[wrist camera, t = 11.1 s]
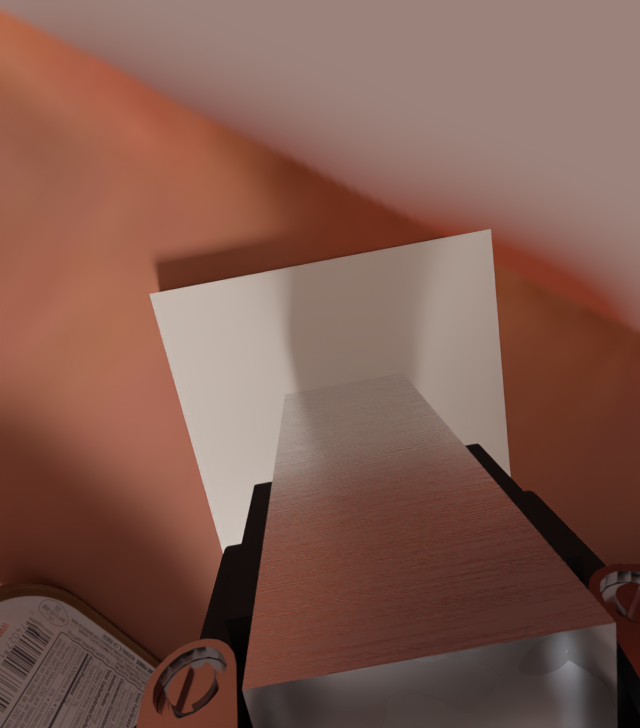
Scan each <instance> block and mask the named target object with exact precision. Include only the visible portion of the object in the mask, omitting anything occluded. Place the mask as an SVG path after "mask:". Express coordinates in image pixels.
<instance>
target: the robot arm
mask: <svg viewBox="0 0 640 728" xmlns="http://www.w3.org/2000/svg"><path fill="white" fill-rule="evenodd" d="M465 447H466V448H467V449H468V450H469V451H470V452H471V454H472V455H473V456H474V457H475V458H476V459H477V461H478V462H479V463H480V464H481V465H482V466H483V468H484V469H485V470H486V471H487V472H488V473H489V475H490V476H491V477H492V478H493V479H494V480H495V482H496V483H497V484H498V485H499V486H500V487H501V489H502V490H503V491H504V492H505V493H506V494H507V496H508V497H509V498H510V499H511V500H512V501H513V503H514V504H515V505H516V506H517V507H518V509H519V510H520V511H521V512H522V513H523V514H524V516H525V517H526V518H527V519H528V520H529V521H530V523H531V524H532V525H533V526H534V527H535V528H536V530H537V531H538V532H539V533H540V534H541V535H542V537H543V538H544V539H545V540H546V541H547V542H548V544H549V545H550V546H551V547H552V548H553V549H554V551H555V552H556V553H557V554H558V555H559V556H560V558H561V559H562V560H563V561H564V562H565V563H566V565H567V566H568V567H569V568H570V569H571V570H572V572H573V573H574V574H575V575H576V576H577V577H578V579H579V580H580V581H581V582H582V583H583V584H584V586H585V587H586V588H587V589H588V590H589V591H590V593H591V594H592V595H593V596H594V597H595V598H596V600H597V601H598V602H599V603H600V604H601V605H602V607H603V608H604V609H605V610H606V611H607V612H608V614H609V615H610V616H611V617H612V618H613V620H614V621H615V622H616V653H617V728H640V566H638V565H631V564H615V565H609V566H606V565H605V564H604V563H603V562H602V561H601V560H600V559H599V558H598V557H597V556H596V555H595V554H594V553H593V552H592V551H591V550H590V549H589V548H588V547H587V546H586V545H585V544H584V543H583V542H582V541H581V540H580V539H579V538H578V537H577V536H576V534H575V533H574V532H573V531H572V530H571V529H570V528H569V527H568V526H567V525H566V524H565V523H564V522H563V521H562V520H561V519H560V518H559V517H558V516H557V515H556V514H555V513H554V512H553V511H552V510H551V509H550V508H549V507H548V506H547V505H546V504H545V503H544V502H543V501H542V500H541V499H540V498H539V497H538V496H537V495H536V494H535V493H534V492H532V491H523V490H522V489H521V488H520V487H519V486H518V485H517V484H516V483H515V482H514V481H513V480H512V479H511V477H510V476H509V475H508V474H507V473H506V472H505V471H504V470H503V469H502V468H501V467H500V466H499V465H498V464H497V463H496V461H495V460H494V459H493V458H492V457H491V456H490V455H489V454H488V453H487V452H486V451H485V450H484V449H483V448H482V446H481V445H479V444H478V443H477V444H471V445H466V446H465ZM271 487H272V482H266V483H261V484H256V485H254V489H253V493H252V498H251V502H250V507H249V511H248V516H247V520H246V525H245V529H244V534H243V538H242V543H241V544H236V545H231V546H227V547H226V548H225V550H224V553H223V556H222V560H221V564H220V567H219V571H218V575H217V578H216V582H215V585H214V589H213V593H212V596H211V600H210V604H209V607H208V611H207V615H206V618H205V622H204V625H203V629H202V633H201V636H200V640H197V641H193V642H191V643H189V644H186V645H184V646H182V647H180V648H179V649H177V650H176V651H174V652H173V653H172V654H170V655H169V656H167V658H166V659H165V660H164V661H163V662H162V663H161V664H160V665H159V666H158V667H157V668H156V669H155V671H154V673H153V674H152V676H151V677H150V679H149V680H148V682H147V685H146V688H145V691H144V693H143V696H142V701H141V706H140V711H139V716H138V721H137V724H136V725H135V726H134V727H133V728H253V725H252V722H251V719H250V715H249V712H248V709H247V705H246V702H245V699H244V695H243V692H242V686H243V679H244V673H245V666H246V659H247V652H248V645H249V638H250V631H251V624H252V618H253V611H254V604H255V597H256V590H257V583H258V576H259V569H260V563H261V556H262V549H263V542H264V535H265V528H266V521H267V514H268V508H269V501H270V494H271Z"/></svg>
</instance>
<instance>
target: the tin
mask: <svg viewBox="0 0 640 728" xmlns="http://www.w3.org/2000/svg"><path fill="white" fill-rule="evenodd" d="M160 664H161V663H160V662H159V661H158V660H157V659H155V658H154V657H153V656H152V655H150V654H149V653H148V652H147V651H145V650H144V649H143V648H141V647H140V646H139V645H138V644H136V643H135V642H134V641H133V640H131V639H130V638H129V637H128V636H126V635H125V634H124V633H123V632H121V631H120V630H119V629H117V628H116V627H115V626H114V625H112V624H111V623H110V622H109V621H107V620H106V619H105V618H104V617H102V616H101V615H100V614H99V613H97V612H96V611H95V610H93V609H92V608H91V607H90V606H88V605H87V604H86V603H85V602H83V601H82V600H80V599H79V598H77V597H76V596H74V595H72V594H70V593H68V592H66V591H64V590H62V589H59V588H56V587H52V586H49V585H44V584H38V583H16V584H9V585H3V586H0V728H133V727H134V726H135V725H136V724H137V721H138V716H139V711H140V706H141V701H142V696H143V693H144V691H145V688H146V685H147V682H148V680H149V679H150V677H151V676H152V674H153V673H154V671H155V669H156V668H157V667H158V666H159V665H160Z"/></svg>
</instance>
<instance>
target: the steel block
mask: <svg viewBox="0 0 640 728" xmlns="http://www.w3.org/2000/svg"><path fill="white" fill-rule="evenodd" d="M242 692H243V695H244V699H245V702H246V705H247V709H248V712H249V715H250V719H251V722H252V725H253V728H617V653H616V622H615V621H614V620H613V618H612V617H611V616H610V615H609V614H608V612H607V611H606V610H605V609H604V608H603V607H602V605H601V604H600V603H599V602H598V601H597V600H596V598H595V597H594V596H593V595H592V594H591V593H590V591H589V590H588V589H587V588H586V587H585V586H584V584H583V583H582V582H581V581H580V580H579V579H578V577H577V576H576V575H575V574H574V573H573V572H572V570H571V569H570V568H569V567H568V566H567V565H566V563H565V562H564V561H563V560H562V559H561V558H560V556H559V555H558V554H557V553H556V552H555V551H554V549H553V548H552V547H551V546H550V545H549V544H548V542H547V541H546V540H545V539H544V538H543V537H542V535H541V534H540V533H539V532H538V531H537V530H536V528H535V527H534V526H533V525H532V524H531V523H530V521H529V520H528V519H527V518H526V517H525V516H524V514H523V513H522V512H521V511H520V510H519V509H518V507H517V506H516V505H515V504H514V503H513V501H512V500H511V499H510V498H509V497H508V496H507V494H506V493H505V492H504V491H503V490H502V489H501V487H500V486H499V485H498V484H497V483H496V482H495V480H494V479H493V478H492V477H491V476H490V475H489V473H488V472H487V471H486V470H485V469H484V468H483V466H482V465H481V464H480V463H479V462H478V461H477V459H476V458H475V457H474V456H473V455H472V454H471V452H470V451H469V450H468V449H467V448H466V447H465V445H464V444H463V443H462V442H461V441H460V440H459V438H458V437H457V436H456V435H455V434H454V433H453V431H452V430H451V429H450V428H449V427H448V426H447V424H446V423H445V422H444V421H443V420H442V419H441V417H440V416H439V415H438V414H437V413H436V412H435V410H434V409H433V408H432V407H431V406H430V405H429V403H428V402H427V401H426V400H425V399H424V398H423V396H422V395H421V394H420V393H419V392H418V390H417V389H416V388H415V387H414V386H413V385H412V383H411V382H410V381H409V380H408V379H407V378H406V376H405V375H404V374H403V373H398V374H393V375H387V376H382V377H377V378H371V379H366V380H361V381H355V382H350V383H345V384H339V385H334V386H329V387H323V388H318V389H313V390H307V391H302V392H297V393H291V394H286V395H285V398H284V404H283V411H282V418H281V425H280V432H279V439H278V446H277V453H276V459H275V466H274V473H273V480H272V487H271V494H270V501H269V508H268V514H267V521H266V528H265V535H264V542H263V549H262V556H261V563H260V569H259V576H258V583H257V590H256V597H255V604H254V611H253V618H252V624H251V631H250V638H249V645H248V652H247V659H246V666H245V673H244V679H243V686H242Z"/></svg>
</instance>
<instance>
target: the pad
mask: <svg viewBox="0 0 640 728" xmlns="http://www.w3.org/2000/svg"><path fill="white" fill-rule="evenodd" d="M150 297H151V301H152V304H153V308H154V312H155V315H156V319H157V322H158V326H159V329H160V333H161V336H162V340H163V343H164V347H165V350H166V354H167V357H168V361H169V364H170V368H171V371H172V375H173V379H174V382H175V386H176V389H177V393H178V396H179V400H180V403H181V407H182V410H183V414H184V417H185V421H186V424H187V428H188V431H189V435H190V438H191V442H192V446H193V449H194V453H195V456H196V460H197V463H198V467H199V470H200V474H201V477H202V481H203V484H204V488H205V491H206V495H207V498H208V502H209V506H210V509H211V513H212V516H213V520H214V523H215V527H216V530H217V534H218V537H219V541H220V544H221V548H222V551H223V553H224V550H225V548H226V547H227V546H231V545H236V544H241V543H242V538H243V534H244V529H245V525H246V520H247V516H248V511H249V507H250V502H251V498H252V493H253V489H254V485H256V484H261V483H266V482H272V480H273V473H274V466H275V459H276V453H277V446H278V439H279V432H280V425H281V418H282V411H283V404H284V398H285V395H286V394H291V393H297V392H302V391H307V390H313V389H318V388H323V387H329V386H334V385H339V384H345V383H350V382H355V381H361V380H366V379H371V378H377V377H382V376H387V375H393V374H398V373H403V374H404V375H405V376H406V378H407V379H408V380H409V381H410V382H411V383H412V385H413V386H414V387H415V388H416V389H417V390H418V392H419V393H420V394H421V395H422V396H423V398H424V399H425V400H426V401H427V402H428V403H429V405H430V406H431V407H432V408H433V409H434V410H435V412H436V413H437V414H438V415H439V416H440V417H441V419H442V420H443V421H444V422H445V423H446V424H447V426H448V427H449V428H450V429H451V430H452V431H453V433H454V434H455V435H456V436H457V437H458V438H459V440H460V441H461V442H462V443H463V444H464V445H465V446H466V445H471V444H477V443H478V444H479V445H481V446H482V448H483V449H484V450H485V451H486V452H487V453H488V454H489V455H490V456H491V457H492V458H493V459H494V460H495V461H496V463H497V464H498V465H499V466H500V467H501V468H502V469H503V470H504V471H505V472H506V473H507V474H508V475H509V476H510V464H509V451H508V439H507V426H506V413H505V401H504V388H503V376H502V363H501V350H500V338H499V325H498V313H497V300H496V287H495V275H494V262H493V250H492V237H491V229H488V230H482V231H476V232H471V233H465V234H460V235H455V236H449V237H444V238H439V239H434V240H428V241H423V242H418V243H413V244H408V245H402V246H397V247H392V248H387V249H381V250H376V251H371V252H366V253H360V254H355V255H350V256H345V257H339V258H334V259H329V260H324V261H318V262H313V263H308V264H303V265H297V266H292V267H287V268H282V269H277V270H271V271H266V272H261V273H256V274H250V275H245V276H240V277H235V278H229V279H224V280H219V281H214V282H208V283H203V284H198V285H193V286H187V287H182V288H177V289H172V290H166V291H161V292H157V293H152V294H150ZM510 477H511V476H510Z"/></svg>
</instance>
